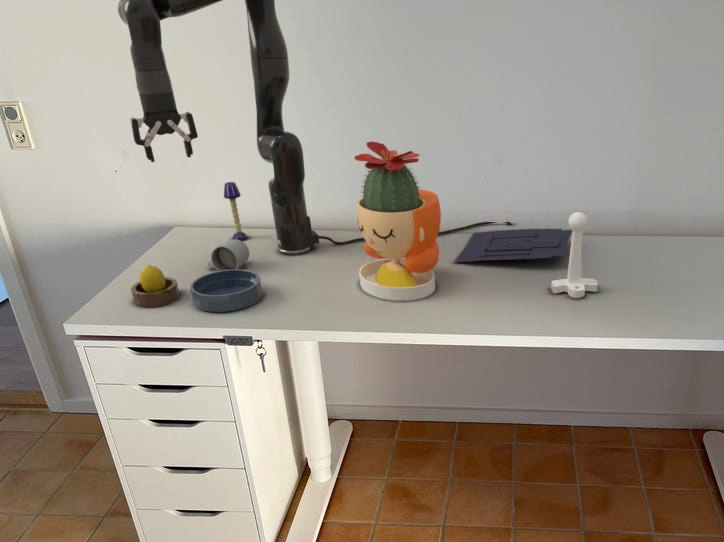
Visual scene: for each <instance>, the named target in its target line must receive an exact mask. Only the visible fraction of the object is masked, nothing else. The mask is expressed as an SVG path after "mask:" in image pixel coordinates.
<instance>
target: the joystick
mask: <svg viewBox="0 0 724 542" xmlns="http://www.w3.org/2000/svg"><path fill="white" fill-rule="evenodd" d="M568 226H569V228H570V230H572V234H571V242H570V249H569V250H570V251H569V259H568V266H567V276H566V278H561V279H554V280H552V281H551V284H550V285H551V286H550V287H551V288H550V291H551V292H552V293H553V294H559V293H567V294H568V296H569V297H570V298H572V299H581V298H583V297H584V296H585V294H586V292H594V293H596V292H598V288H599V287H598V286H599V283H598V282H597V279H595V278H583V231H584V229H586V227H587V226H588V217H587V215H585V214H584V213H583V212H580V211H576V212H573V213H572V214H571V215H570V216H569V218H568Z"/></svg>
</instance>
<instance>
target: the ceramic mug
mask: <svg viewBox="0 0 724 542" xmlns="http://www.w3.org/2000/svg"><path fill="white" fill-rule="evenodd" d="M249 258H250V249H249V247H248V246H247V244H246V243H245V242H243V240H241V241H240V240H237V239H233V238H232V239H229V240H227V241H225V242H224V243H221V244H220V245H218V246H216V247H214V249H212V251H211V254H210V261H209V262H207V266H208V267H209V269H213V268H215V269H216V270H217V271H222V270H231V269H240V268H241V267H242V266H243V265H245V264H246V262H247V261H248V260H249Z"/></svg>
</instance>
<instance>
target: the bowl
mask: <svg viewBox="0 0 724 542" xmlns="http://www.w3.org/2000/svg"><path fill="white" fill-rule="evenodd" d="M189 289H190V290H189V291H190V293H191V298H192V303H193V304H194V306H195V308H197V309H199V310H201V311H206V312H211V313H213V312H214V313H225V312H233V311H238V310H242V309H245V308H248V307H249V306H252V305H254V304H256V303H257V302H259V301H260V300H261V298H262V297H263V293H264V292H263V285H262V280H261V276H260V275H259V274H258V273H257V272H254V271H252V270H248V269H240V268H238V269H231V270H222V271H218V270H217V271H213V272H209V273H206V274H203V275H202V276H200V277H198V278H196V279H194V281H192V282H191V284H190V287H189Z"/></svg>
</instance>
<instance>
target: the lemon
mask: <svg viewBox="0 0 724 542" xmlns="http://www.w3.org/2000/svg"><path fill="white" fill-rule="evenodd" d="M165 277H166V276H165V275H164V273H163V271H162V270H161V269H160V268H159V267H157V266H155V265H151V264H148V265H147V266H145V267H144V268H143V269H142V270H141V271H140V275H139V282H141V285H142V287H143V289H144V290H145V291H146V292H148V293H151V292H157V291H162V290H164V288H165V284H166V282H165Z"/></svg>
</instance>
